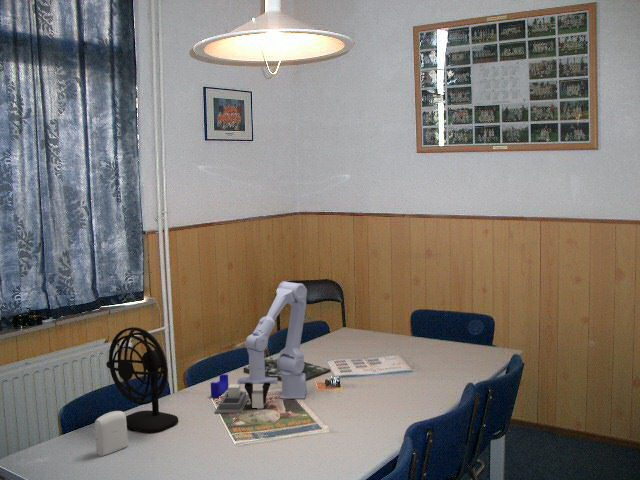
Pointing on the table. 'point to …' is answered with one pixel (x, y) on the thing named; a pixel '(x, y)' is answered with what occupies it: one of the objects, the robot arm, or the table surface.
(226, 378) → the cable clip
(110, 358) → the desk fan
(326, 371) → the topographical map
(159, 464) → the table surface
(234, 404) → the grey stepped block
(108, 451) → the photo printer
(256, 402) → the light gray rectangular block
